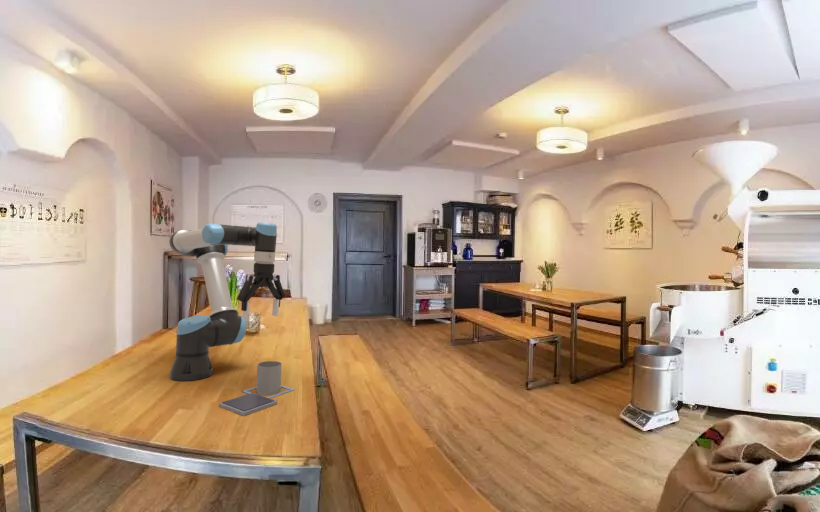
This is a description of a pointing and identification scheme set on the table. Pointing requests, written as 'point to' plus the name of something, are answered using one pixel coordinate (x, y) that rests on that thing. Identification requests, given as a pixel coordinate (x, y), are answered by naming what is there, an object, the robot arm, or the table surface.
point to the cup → (268, 377)
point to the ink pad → (247, 404)
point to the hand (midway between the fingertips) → (260, 317)
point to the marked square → (273, 395)
